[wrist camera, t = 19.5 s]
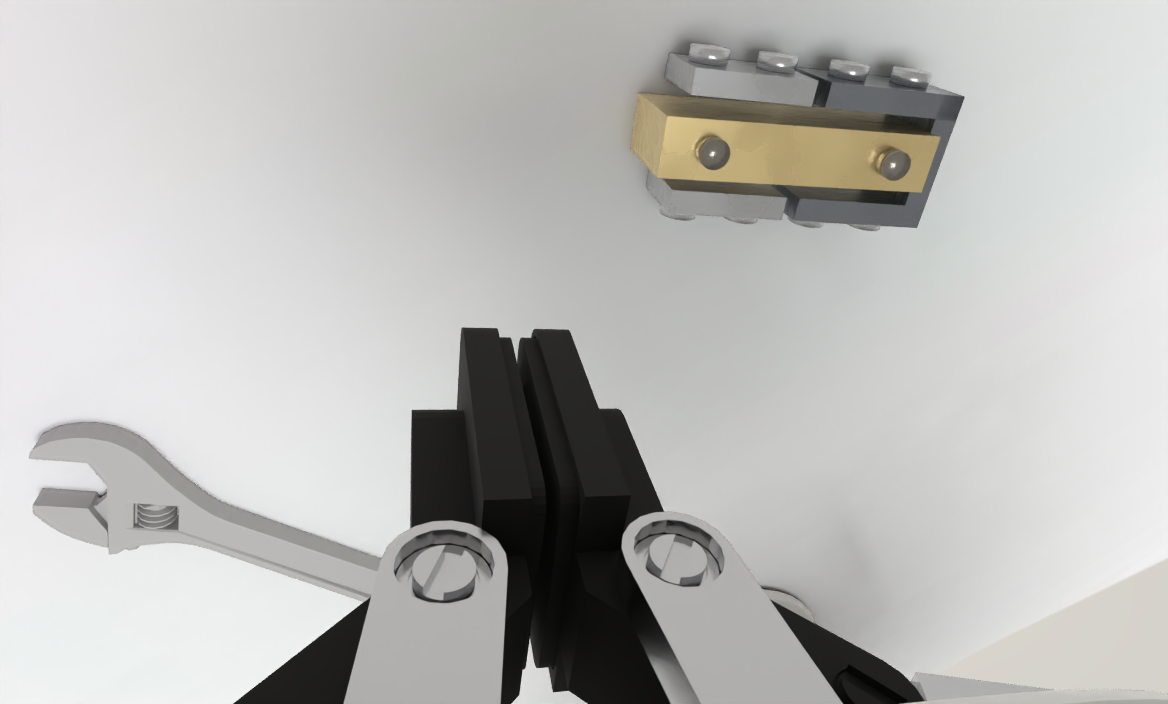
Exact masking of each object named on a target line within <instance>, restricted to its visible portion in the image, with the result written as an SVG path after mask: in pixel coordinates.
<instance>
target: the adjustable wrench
mask: <svg viewBox="0 0 1168 704" xmlns="http://www.w3.org/2000/svg"><path fill="white" fill-rule="evenodd" d="M29 459H41V460H55V461H68V462H82V463H88V464H89V465H90V467H91V468H92V469H93V470H94V471H95V472H96V474H97V475H98V476H99V477H100V478H101V479H102V481H103V482H104V483H105V484H106V485H107V493H106V494H105V495H104V496H102V497H100V496H99V494H98V493H97V492H90V491H76V490H61V489H47V488H43V489H42V491H41V493H40V494H39V496H38V497H37V499H36V501H35V502H34V504H33V513H34V514H35V515H36V516H37V517H38V518H39V519H41V520H42V521H43V522H45V523H46V524H48V525H49V526H50V527H52V528H54V529H56V530H57V531H59V532H61V533H63V534H65V535H67V536H70V537H72V538H75V539H78V540H81V541H84V542H87V543H91V544H94V545H98V546H102V547H108V546H109V554H117V553H119V552H121V551H123V550H125V549H127V550H133V549H137V548H138V547H139V546H140V545H149V544H160V543H182V544H189V545H195V546H199V547H203V548H207V549H210V550H213V551H216V552H219V553H222V554H225V555H228V556H231V557H234V558H237V559H240V560H243V561H246V562H248V563H251V564H254V565H257V566H260V567H263V568H266V569H269V570H272V571H275V572H278V573H281V574H284V575H287V576H289V577H292V578H295V579H298V580H301V581H304V582H307V583H310V584H313V585H316V586H319V587H322V588H325V589H327V590H330V591H333V592H336V593H339V594H342V595H345V596H348V597H351V598H354V599H357V600H360V601H363V602H365V601H366V600H367V599H369V598H370V597H371V595H372V591H373V588H374V584H375V580H376V576H377V572H378V568H379V564H380V561H381V559H380V558H378V557H375V556H372V555H369V554H366V553H363V552H361V551H358V550H355V549H352V548H349V547H346V546H344V545H341V544H338V543H335V542H332V541H329V540H327V539H324V538H321V537H318V536H315V535H312V534H310V533H307V532H304V531H301V530H298V529H296V528H293V527H290V526H287V525H284V524H281V523H279V522H276V521H273V520H270V519H267V518H264V517H262V516H259V515H256V514H253V513H250V512H247V511H245V510H242V509H239V508H236V507H233V506H231V505H229V504H226V503H224V502H222V501H220V500H218V499H216V498H214V497H213V496H211V495H209V494H208V493H206V492H205V491H203V490H202V489H201V488H200V487H198V486H197V485H196V484H194V483H193V482H192V481H190V480H189V479H188V478H186V477H185V476H184V475H183V474H182V473H180V472H179V471H178V470H177V469H176V468H175V467H174V466H173V465H171V464H170V463H169V462H168V461H167V460H166V459H165V458H164V457H163V456H162V455H161V454H160V453H159V452H158V451H157V450H156V449H155V448H154V447H153V446H152V445H151V444H150V443H149V442H147V441H146V440H144V439H143V438H141V437H140V436H138V435H136V434H134V433H133V432H130V431H128V430H126V429H124V428H121V427H117V426H114V425H108V424H102V423H97V422H80V423H73V424H67V425H61V426H58V427H56V428H54V429H52V430H49V431H47V432H45V433H43V435H42V436H41V438H40V439H39V441H38V442H37V443H36V445H35V446H34V448H33V449H32V451H31V452H30V455H29ZM177 506H179V515H177Z"/></svg>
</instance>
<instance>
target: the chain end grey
mask: <svg viewBox="0 0 1168 704" xmlns="http://www.w3.org/2000/svg"><path fill="white" fill-rule="evenodd" d="M729 55H730V49H728V48H724V47H720V46H715V45H709V44H700V43H691V45H690V51H689V55H684V54H675V53H669V56H668V62H667V68H666V74H665V78H666V79H667V80H669V81H671V82H672V83H674V84H675V85H677V86H678V87H680V88H681V89H683V90H684V91H686V92H687V93H689V94H690V95H697V96H708V97H718V98H728V99H738V100H748V101H758V102H768V103H779V104H789V105H799V106H809V107H812V104H813V100H814V96H815V93H816V89H817V85H818V82H819V81H818V80H815V79H813V78H810V77H808V76H806V75H803V74H801V73H799V72H796V71H795V70H796V66H797V62H798V57H796V56H792V55H788V54H783V53H777V52H769V51H759V56H758V60H757V63H755V62H746V61H737V60H728V59H729ZM646 188H647V189H648V190H649V191H650V192H651V194H652V195H653V196H654V197H655V198H656V199H657V201H658V202H659V203H660V204H661V208H660V213H661V214H662V215H664V216H666V217H669V218H672V219H676V220H693V219H695V217H696V215H706V216H723V217H724V218H726V219H728V220H730V221H733V222H737V223H742V224H754V223H756V222H757V220H758V219H774V220H781V219H782V215H783V212H784V208H785V204H786V200H787V197H786V196H784V195H783V194H782V193H780V192H779V191H778V190H776V189H775V188H774V187H773V186H771V185H770V184H757V183H739V182H721V181H703V180H684V179H666V178H657V177H656V176H655V175H654V174H653V173H652V172H651V171H650V170H649V173H648V178H647V184H646Z"/></svg>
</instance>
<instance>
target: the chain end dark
mask: <svg viewBox="0 0 1168 704" xmlns="http://www.w3.org/2000/svg"><path fill="white" fill-rule="evenodd" d="M869 68H870V66H869V65H866V64H862V63H857V62H852V61H846V60H838V59H832V60H831V62H830V66H829V70H828V71H827V70H818V69H809V68H800V67H796V70H795V71H796V72H799V73H801V74H803V75H806V76H808V77H810V78H813V79H815V80H818V81H819V82H818V85H817V89H816V93H815V96H814V100H813V103H815V104H818V105H820V106H822V107H824V108H829V109H840V110H850V111H860V112H870V113H880V114H889V115H891V116H894V117H896V118H898V119H901V120H903V121H905V122H908V123H910V124H912V125H915V126H917V127H919V128H922V129H924V130H926V131H929V132H931V133H933V134H936V135H938V136H941V138H940V141H939V144H938V146H937V149H936V152H935V155H934V158H933V161H932V164H931V167H930V170H929V172H928V175H927V178H926V181H925V184H924V187H923V190H922V193H920V192H902V191H884V190H866V189H848V188H829V187H811V186H793V185H775V184H770V185H771V186H773V187H774V188H775V189H776V190H778V191H779V192H780V193H782V194H783V195H784V196H786V197H787V200H786V204H785V208H784V213H785V214H786V215H787V216H788V219H789V220H790V221H791V222H793V223H795V224H797V225H801V226H805V227H811V228H819V227H822V225H823V222H825V223H843V224H848V225H850V226H852V227H855V228H858V229H861V230H867V231H877V230H879V229H880V226H894V227H911V228H917V226H918V223H919V221H920V218H921V215H922V212H923V210H924V207H925V204H926V202H927V199H928V196H929V193H930V191H931V188H932V185H933V182H934V180H935V177H936V174H937V171H938V169H939V166H940V163H941V160H942V158H943V155H944V152H945V149H946V147H947V144H948V141H949V138H950V136H951V133H952V130H953V128H954V125H955V122H956V119H957V117H958V114H959V111H960V108H961V106H962V103H963V100H964V96H961V95H958V94H955V93H952V92H949V91H946V90H943V89H940V88H937V87H934V86H931V85H928V84H929V81H930V78H931V75H932V73H930V72H927V71H923V70H918V69H913V68H907V67H898V66H894V67H893V70H892V73H891V76H890V78H889V77H880V76H872V75H868V72H869Z"/></svg>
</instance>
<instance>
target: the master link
mask: <svg viewBox="0 0 1168 704" xmlns="http://www.w3.org/2000/svg"><path fill="white" fill-rule="evenodd" d="M940 138H941V136H938V135H936V134H933V133H931V132H929V131H926V130H924V129H922V128H919V127H917V126H915V125H912V124H910V123H908V122H905V121H903V120H901V119H898V118H896V117H894V116H891V115H889V114H880V113H870V112H860V111H850V110H840V109H829V108H819V107H807V106H794V105H782V104H770V103H757V102H745V101H733V100H721V99H708V98H696V97H684V96H672V95H659V94H647V93H638V99H637V106H636V113H635V120H634V127H633V134H632V141H631V148H630V149H631V150H632V151H633V152H634V153H635V154H636V155H637V156H638V158H639V159H640V160H641V161H642V162H643V163H644V164H645V165H646V166H647V167H648V168H649V170H650V171H651V172H652V173H653V174H654V175H655V176H656V177H657V178H666V179H684V180H703V181H721V182H739V183H757V184H775V185H793V186H811V187H829V188H848V189H866V190H884V191H902V192H920V193H922V190H923V187H924V184H925V181H926V178H927V175H928V172H929V170H930V167H931V164H932V161H933V158H934V155H935V152H936V149H937V146H938V144H939V141H940Z"/></svg>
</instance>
